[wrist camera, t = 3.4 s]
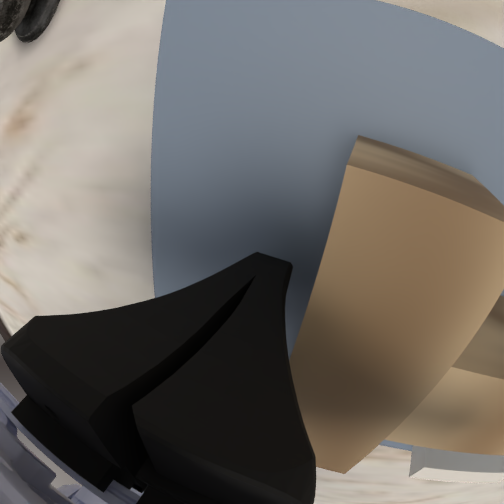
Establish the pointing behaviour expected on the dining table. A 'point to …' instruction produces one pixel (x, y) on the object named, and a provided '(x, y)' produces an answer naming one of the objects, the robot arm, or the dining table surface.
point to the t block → (405, 313)
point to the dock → (455, 466)
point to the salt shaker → (25, 18)
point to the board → (301, 125)
